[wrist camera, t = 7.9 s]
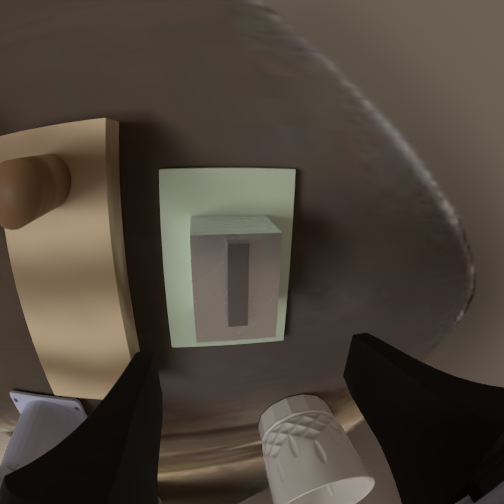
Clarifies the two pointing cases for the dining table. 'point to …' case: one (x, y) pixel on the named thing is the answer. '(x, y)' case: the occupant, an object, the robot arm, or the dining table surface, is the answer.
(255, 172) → the board
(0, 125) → the dining table surface
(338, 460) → the white cup
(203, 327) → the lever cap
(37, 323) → the panel with round knob
